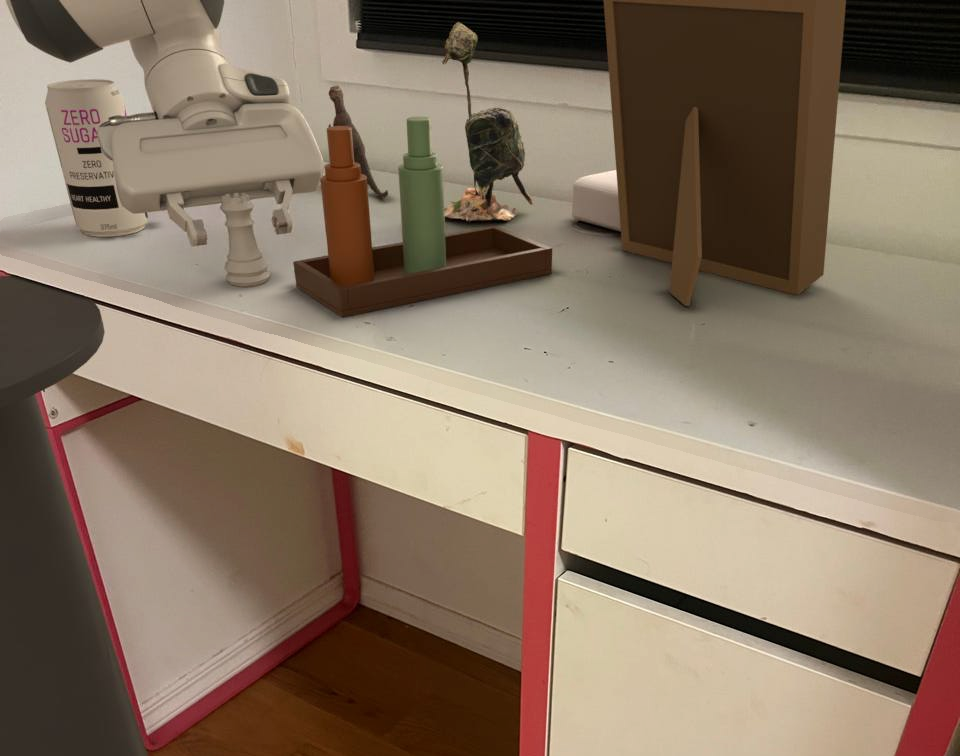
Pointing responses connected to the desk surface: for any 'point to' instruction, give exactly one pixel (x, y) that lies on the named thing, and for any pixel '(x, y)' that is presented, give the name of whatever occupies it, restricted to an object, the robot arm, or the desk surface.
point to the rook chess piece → (242, 244)
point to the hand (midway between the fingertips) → (243, 236)
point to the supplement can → (89, 155)
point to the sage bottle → (421, 201)
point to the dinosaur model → (358, 146)
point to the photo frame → (726, 135)
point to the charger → (597, 200)
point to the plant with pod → (485, 144)
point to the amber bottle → (346, 212)
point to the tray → (428, 271)
